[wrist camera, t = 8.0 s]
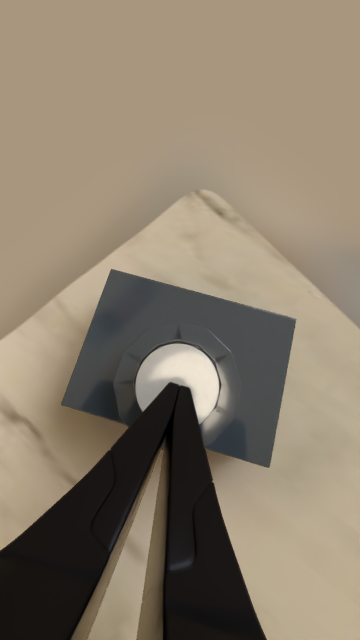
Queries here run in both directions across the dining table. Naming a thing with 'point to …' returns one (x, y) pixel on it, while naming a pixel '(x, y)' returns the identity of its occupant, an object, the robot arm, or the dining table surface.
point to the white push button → (179, 377)
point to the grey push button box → (197, 331)
